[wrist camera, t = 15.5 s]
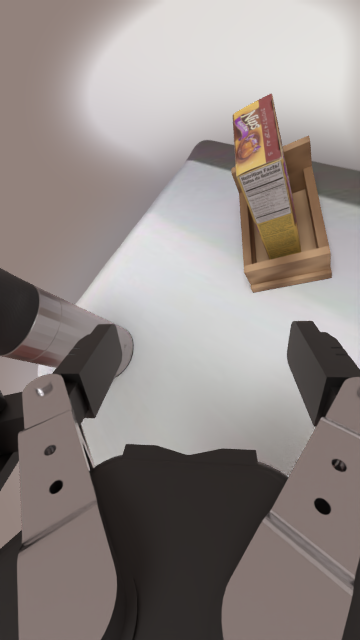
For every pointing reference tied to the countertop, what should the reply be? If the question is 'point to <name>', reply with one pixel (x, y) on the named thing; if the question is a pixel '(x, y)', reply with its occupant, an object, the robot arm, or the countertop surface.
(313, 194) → the brown wooden open box
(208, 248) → the countertop surface
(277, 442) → the countertop surface
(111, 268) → the countertop surface
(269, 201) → the candy box
